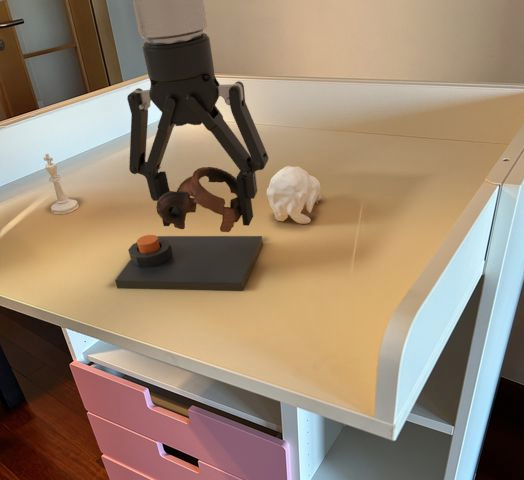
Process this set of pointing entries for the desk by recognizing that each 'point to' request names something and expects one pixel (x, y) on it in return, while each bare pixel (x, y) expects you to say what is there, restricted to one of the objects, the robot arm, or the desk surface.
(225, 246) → the dark grey button base
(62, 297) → the desk surface
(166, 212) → the brown curved loop
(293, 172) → the white animal figurine
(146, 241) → the button
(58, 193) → the chess piece
